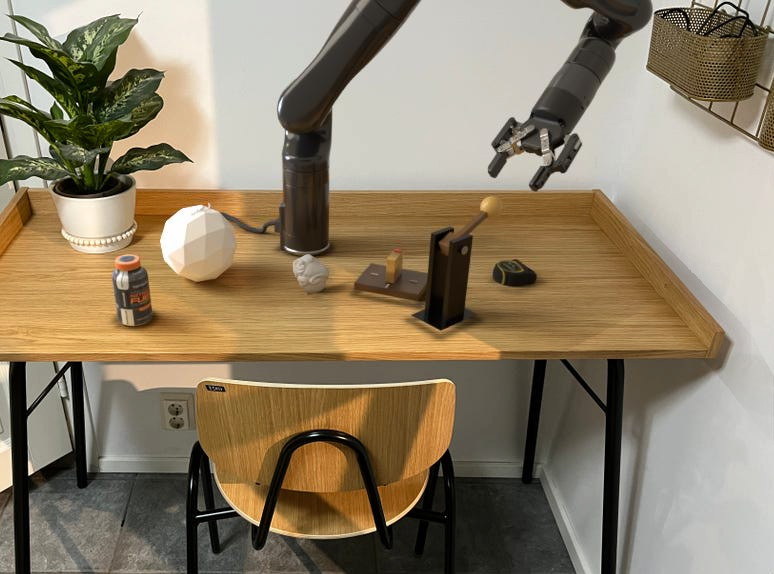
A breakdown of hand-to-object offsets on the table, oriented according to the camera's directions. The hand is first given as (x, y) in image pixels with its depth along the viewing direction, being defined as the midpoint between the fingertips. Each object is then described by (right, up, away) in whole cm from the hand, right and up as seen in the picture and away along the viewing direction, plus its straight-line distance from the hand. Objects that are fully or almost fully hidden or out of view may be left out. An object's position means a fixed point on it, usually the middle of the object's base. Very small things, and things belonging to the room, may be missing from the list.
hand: (511, 182), depth 127 cm
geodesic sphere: (-54, -14, +20) cm, 59 cm away
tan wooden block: (-18, -14, +13) cm, 26 cm away
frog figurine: (-33, -17, +14) cm, 40 cm away
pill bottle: (-63, -22, +6) cm, 67 cm away
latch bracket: (-10, -23, +4) cm, 25 cm away
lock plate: (-18, -17, +14) cm, 28 cm away
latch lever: (-6, -9, -1) cm, 11 cm away
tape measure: (+5, -15, +16) cm, 23 cm away
